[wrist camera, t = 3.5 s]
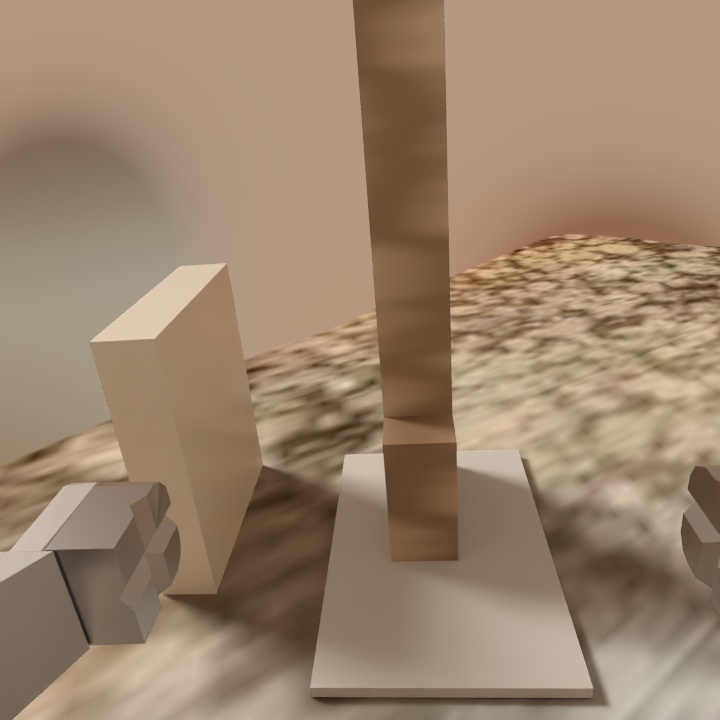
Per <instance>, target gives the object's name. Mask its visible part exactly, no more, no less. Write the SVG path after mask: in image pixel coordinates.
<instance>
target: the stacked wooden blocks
mask: <svg viewBox="0 0 720 720" xmlns="http://www.w3.org/2000/svg"><path fill="white" fill-rule="evenodd" d="M353 8H354V21H355V34H356V48H357V61H358V75H359V87H360V102H361V114H362V127H363V142H364V155H365V169H366V181H367V195H368V209H369V221H370V236H371V249H372V262H373V275H374V289H375V303H376V316H377V329H378V343H379V356H380V369H381V383H382V396H383V410H384V428H383V456H384V469H385V482H386V495H387V508H388V521H389V534H390V546H391V559H392V562H400V561H458V503H457V444H456V436H455V429H454V423H453V416H452V379H451V329H450V278H449V229H448V181H447V180H448V179H447V134H446V133H447V132H446V131H447V130H446V82H445V81H446V78H445V30H444V29H445V28H444V0H353Z"/></svg>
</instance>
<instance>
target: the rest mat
mask: <svg viewBox="0 0 720 720" xmlns="http://www.w3.org/2000/svg"><path fill="white" fill-rule="evenodd" d="M457 503H458V561H400V562H392V559H391V546H390V534H389V521H388V508H387V495H386V482H385V469H384V456H383V454H353V455H345V459H344V466H343V472H342V479H341V486H340V492H339V499H338V506H337V512H336V519H335V526H334V532H333V539H332V546H331V552H330V559H329V565H328V572H327V579H326V585H325V592H324V599H323V605H322V612H321V619H320V625H319V632H318V639H317V645H316V652H315V659H314V665H313V672H312V678H311V685H310V690H311V696H312V697H436V698H592V696H593V685H592V682H591V679H590V676H589V673H588V670H587V666H586V663H585V660H584V657H583V654H582V651H581V647H580V644H579V641H578V638H577V635H576V632H575V628H574V625H573V622H572V619H571V616H570V613H569V609H568V606H567V603H566V600H565V597H564V594H563V590H562V587H561V584H560V581H559V578H558V575H557V571H556V568H555V565H554V562H553V559H552V556H551V552H550V549H549V546H548V543H547V540H546V537H545V533H544V530H543V527H542V524H541V521H540V518H539V514H538V511H537V508H536V505H535V502H534V499H533V495H532V492H531V489H530V486H529V483H528V480H527V476H526V473H525V470H524V467H523V464H522V461H521V457H520V454H519V451H518V449H502V450H472V451H457Z"/></svg>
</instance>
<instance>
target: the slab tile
mask: <svg viewBox="0 0 720 720" xmlns="http://www.w3.org/2000/svg"><path fill="white" fill-rule="evenodd" d="M89 343H90V347H91V350H92V353H93V357H94V360H95V364H96V367H97V371H98V374H99V377H100V380H101V384H102V388H103V391H104V394H105V398H106V401H107V405H108V408H109V411H110V415H111V418H112V422H113V425H114V429H115V432H116V435H117V439H118V442H119V446H120V449H121V453H122V456H123V459H124V463H125V466H126V470H127V473H128V477H129V480H130V482H160V483H162V484H163V485H165V486H166V488H167V492H168V495H169V498H170V501H171V504H170V506H169V508H168V510H167V512H166V514H165V515H166V516H167V517H168V518H169V519H170V520H171V521H173V522H174V523H175V524H176V525H177V528H178V532H179V536H180V545H181V555H180V561H179V567H178V571H177V574H176V576H175V578H174V581H173V583H172V585H171V586H170V587H168V588H167V589H166V590H164V591H163V592H162V593H163V595H168V594H217V591H218V588H219V586H220V583H221V580H222V577H223V575H224V572H225V569H226V566H227V563H228V561H229V558H230V555H231V552H232V550H233V547H234V544H235V541H236V539H237V536H238V533H239V530H240V527H241V525H242V522H243V519H244V516H245V514H246V511H247V508H248V505H249V502H250V500H251V497H252V494H253V491H254V489H255V486H256V483H257V480H258V477H259V475H260V472H261V469H262V466H263V463H262V457H261V452H260V446H259V440H258V435H257V429H256V423H255V418H254V412H253V407H252V401H251V395H250V390H249V384H248V379H247V373H246V367H245V362H244V357H243V350H242V345H241V339H240V334H239V328H238V322H237V317H236V311H235V305H234V300H233V295H232V289H231V283H230V278H229V272H228V266H227V263H223V264H207V265H191V266H180V267H178V268H177V269H176V270H175V271H174V272H173V273H171V274H170V275H169V276H168V277H167V278H165V279H164V280H163V281H162V282H161V283H160V284H158V285H157V286H156V287H155V288H153V289H152V290H151V291H150V292H149V293H148V294H146V295H145V296H144V297H143V298H141V299H140V300H139V301H138V302H137V303H135V304H134V305H133V306H132V307H131V308H129V309H128V310H127V311H126V312H125V313H124V314H122V315H121V316H120V317H119V318H118V319H116V320H115V321H114V322H113V323H111V324H110V325H109V326H108V327H107V328H106V329H104V330H103V331H102V332H101V333H100V334H98V335H97V336H96V337H95V338H94V339H92V340H91V341H90V342H89Z"/></svg>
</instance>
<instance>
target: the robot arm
mask: <svg viewBox="0 0 720 720" xmlns="http://www.w3.org/2000/svg"><path fill="white" fill-rule="evenodd" d="M688 490H689V492H690V493H691V495H692V496H693V498H694V499H695V501H696V502H695V503H694V504H692V505H691V506H690V507H689V508H688V509H687V510H686V511H685V512H684V513H683V519H682V527H681V537H682V545H683V551H684V554H685V557H686V559H687V562H688V565H689V566H690V568H691V570H692V572H693V573H694V575H695V577H696V578H698V579H699V580H701V581H702V582H704V583H705V584H707V585H709V586H710V587H712V588H713V590H712V595H711V600H710V602H711V604H712V605H713V607H714V609H715V610H716V612H717V614H718V615H719V617H720V465H713V466H695V468H694V470H693V471H692V473H691V475H690V479H689V485H688ZM170 504H171V501H170V498H169V495H168V492H167V488H166V486H165V485H163V484H162V483H160V482H102V483H72V484H69V485H67V486H64V487H63V488H62V490H61V491H60V492H59V493H58V494H57V495H56V497H55V498H54V499H53V500H52V501H51V503H50V504H49V505H48V506H47V507H46V509H45V510H44V511H43V512H42V513H41V514H40V516H39V517H38V518H37V519H36V520H35V522H34V523H33V524H32V525H31V526H30V528H29V529H28V530H27V531H26V532H25V533H24V535H23V536H22V537H21V538H20V539H19V541H18V542H17V543H16V544H15V545H14V547H13V548H12V549H11V550H10V551H9V552H0V720H12V719H13V718H14V717H16V716H17V715H18V714H19V713H20V712H21V711H22V710H23V709H24V708H25V707H26V706H28V705H29V704H30V703H31V702H32V701H33V700H34V699H35V698H36V697H37V696H38V695H40V694H41V693H42V692H43V691H44V690H45V689H46V688H47V687H48V686H49V685H51V684H52V683H53V682H54V681H55V680H56V679H57V678H58V677H59V676H60V675H61V674H63V673H64V672H65V671H66V670H67V669H68V668H69V667H70V666H71V665H72V664H73V663H75V662H76V661H77V660H78V659H79V658H80V657H81V656H82V655H83V654H84V653H85V652H87V651H88V650H89V649H90V647H89V645H117V644H145V642H146V640H147V638H148V635H149V633H150V631H151V629H152V627H153V625H154V622H155V620H156V618H157V616H158V614H159V612H160V609H161V604H160V601H159V597H158V595H159V594H161V593H162V592H163V591H164V590H166V589H167V588H168V587H170V586H171V585H172V583H173V581H174V578H175V576H176V574H177V571H178V567H179V561H180V555H181V545H180V536H179V532H178V528H177V525H176V524H175V523H174V522H173V521H171V520H170V519H169V518H168V517H167V516H166V515H165V514H166V512H167V510H168V508H169V506H170Z"/></svg>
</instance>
